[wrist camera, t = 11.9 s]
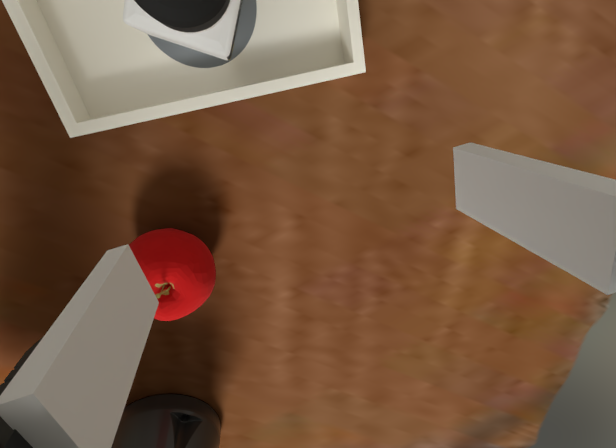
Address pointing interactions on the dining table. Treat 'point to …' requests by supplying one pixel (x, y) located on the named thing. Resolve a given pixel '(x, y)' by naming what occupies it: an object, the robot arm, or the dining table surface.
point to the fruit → (175, 270)
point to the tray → (179, 58)
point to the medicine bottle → (188, 22)
